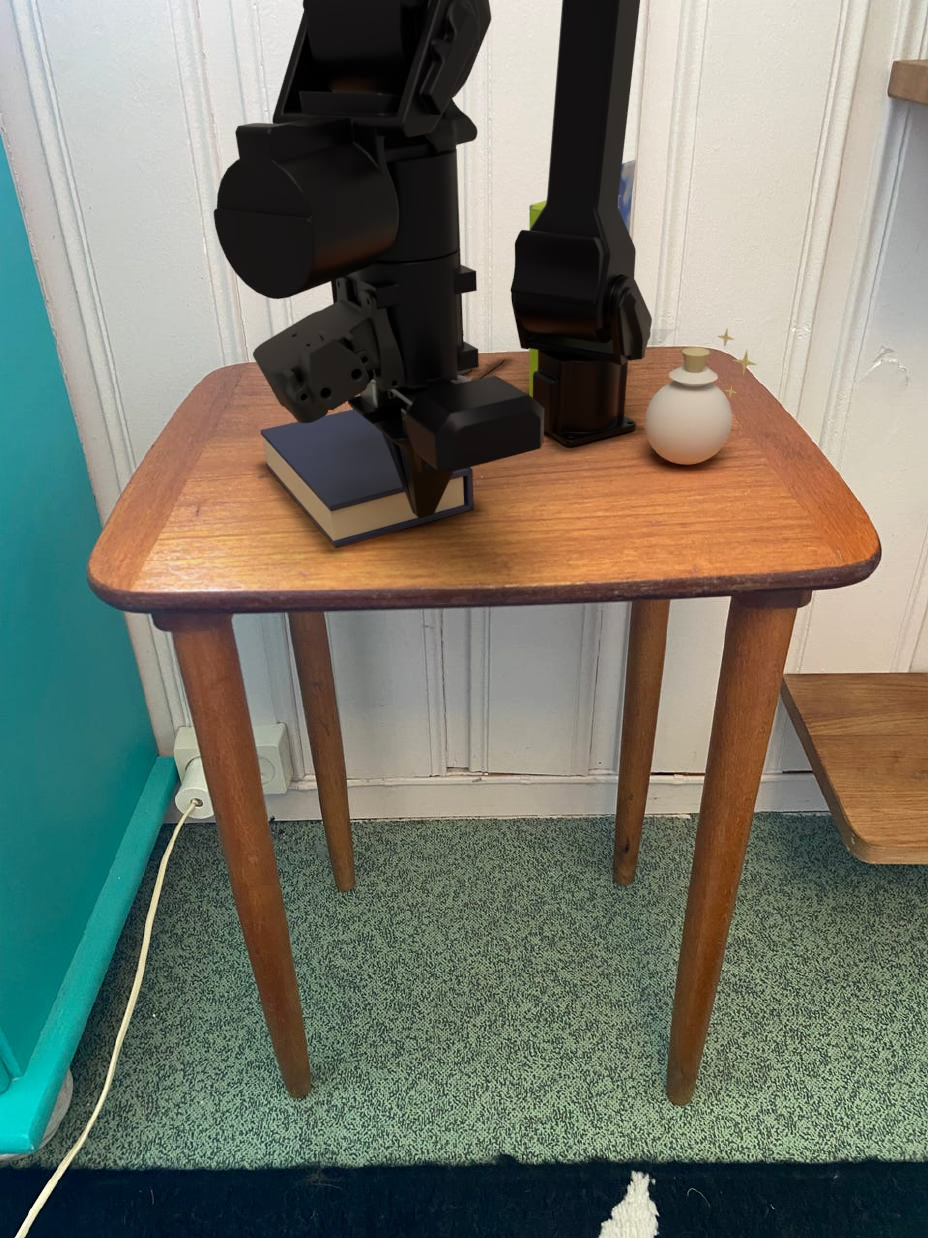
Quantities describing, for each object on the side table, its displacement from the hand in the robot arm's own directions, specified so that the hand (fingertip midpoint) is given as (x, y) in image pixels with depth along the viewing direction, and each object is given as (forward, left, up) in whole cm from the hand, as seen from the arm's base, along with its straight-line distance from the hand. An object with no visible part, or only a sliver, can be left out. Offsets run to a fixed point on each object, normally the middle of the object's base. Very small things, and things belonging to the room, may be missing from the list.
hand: (423, 514), depth 56 cm
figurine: (-17, -27, -2) cm, 32 cm away
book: (0, -10, -2) cm, 10 cm away
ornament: (-22, -1, -2) cm, 22 cm away
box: (-24, -19, -2) cm, 30 cm away
